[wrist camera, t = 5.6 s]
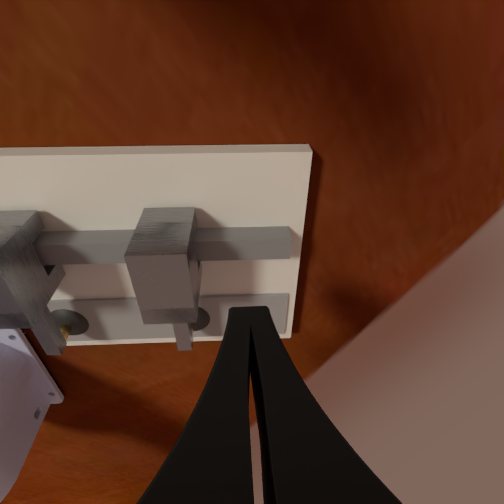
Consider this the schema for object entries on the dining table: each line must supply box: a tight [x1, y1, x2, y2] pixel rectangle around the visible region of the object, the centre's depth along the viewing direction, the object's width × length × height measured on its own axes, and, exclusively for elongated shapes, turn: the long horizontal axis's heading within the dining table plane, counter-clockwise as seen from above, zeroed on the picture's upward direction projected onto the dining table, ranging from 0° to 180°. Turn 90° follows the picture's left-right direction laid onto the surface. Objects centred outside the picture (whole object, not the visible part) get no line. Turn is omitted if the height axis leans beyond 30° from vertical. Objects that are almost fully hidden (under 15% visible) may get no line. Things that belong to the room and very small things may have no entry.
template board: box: [0, 144, 313, 346], centre depth 18 cm, size 13×16×2 cm
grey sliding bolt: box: [124, 207, 202, 351], centre depth 17 cm, size 8×2×4 cm, turn 0°
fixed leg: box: [0, 210, 72, 355], centre depth 17 cm, size 8×2×4 cm, turn 0°
